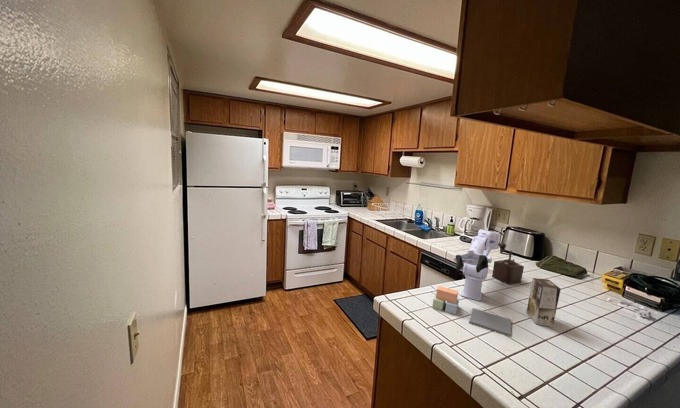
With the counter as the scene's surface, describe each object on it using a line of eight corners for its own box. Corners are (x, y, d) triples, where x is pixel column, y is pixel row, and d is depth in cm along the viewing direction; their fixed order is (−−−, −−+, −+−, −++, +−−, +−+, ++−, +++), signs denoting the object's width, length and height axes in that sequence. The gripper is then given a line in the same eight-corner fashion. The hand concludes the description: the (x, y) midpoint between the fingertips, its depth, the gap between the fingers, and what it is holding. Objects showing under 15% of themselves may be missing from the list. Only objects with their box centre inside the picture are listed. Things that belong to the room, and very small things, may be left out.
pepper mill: (522, 282, 151) (528, 250, 148) (508, 285, 147) (514, 252, 144) (497, 271, 165) (502, 241, 162) (483, 273, 161) (488, 242, 158)
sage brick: (436, 300, 126) (437, 292, 126) (445, 303, 124) (446, 294, 124) (432, 308, 120) (433, 299, 119) (441, 311, 118) (443, 302, 117)
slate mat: (472, 309, 120) (472, 307, 120) (510, 321, 113) (511, 319, 113) (469, 323, 110) (469, 321, 109) (510, 336, 103) (510, 334, 102)
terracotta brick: (435, 298, 120) (436, 289, 119) (437, 294, 124) (438, 285, 123) (455, 303, 116) (457, 294, 116) (457, 299, 120) (458, 290, 119)
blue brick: (448, 303, 124) (449, 295, 123) (458, 306, 122) (459, 298, 121) (445, 312, 117) (446, 303, 116) (455, 315, 115) (456, 306, 114)
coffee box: (553, 327, 110) (561, 289, 108) (535, 324, 112) (543, 286, 109) (542, 315, 119) (549, 279, 116) (525, 312, 120) (532, 277, 118)
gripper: (456, 244, 127) (446, 260, 117) (491, 244, 117) (484, 261, 107) (459, 258, 128) (450, 275, 118) (495, 259, 119) (488, 277, 109)
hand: (467, 269), depth 113 cm, fingers open, 7 cm apart
